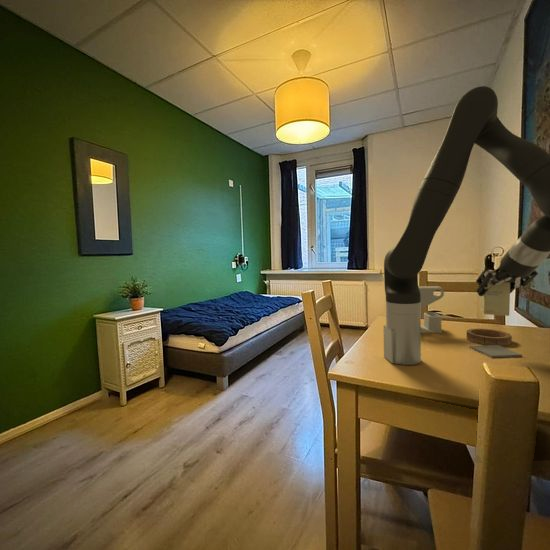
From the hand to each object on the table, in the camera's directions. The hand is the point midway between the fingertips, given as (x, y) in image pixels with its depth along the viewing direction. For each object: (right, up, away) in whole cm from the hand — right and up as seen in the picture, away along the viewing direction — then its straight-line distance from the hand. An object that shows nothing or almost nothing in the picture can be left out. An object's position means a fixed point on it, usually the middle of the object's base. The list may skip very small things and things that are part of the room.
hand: (491, 293), depth 88 cm
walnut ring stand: (+7, -17, +11) cm, 22 cm away
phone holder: (-9, -17, +28) cm, 34 cm away
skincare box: (0, -6, -1) cm, 6 cm away
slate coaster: (+1, -18, 0) cm, 18 cm away
